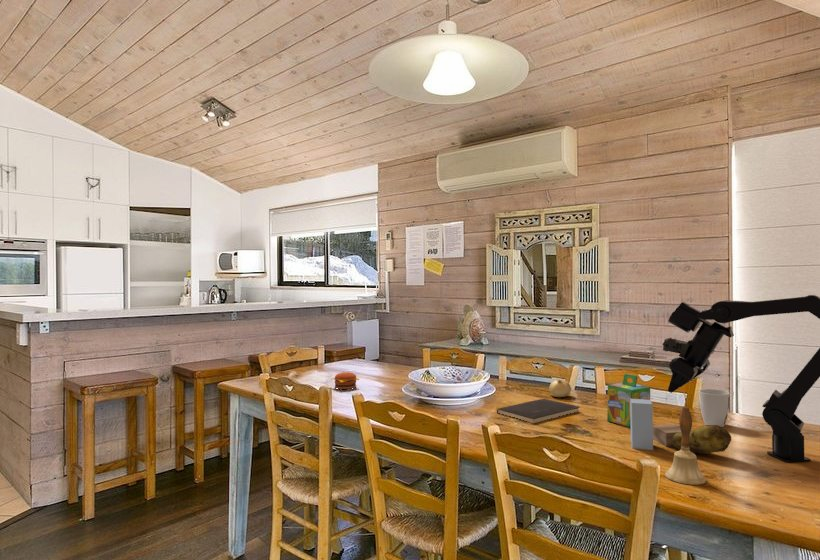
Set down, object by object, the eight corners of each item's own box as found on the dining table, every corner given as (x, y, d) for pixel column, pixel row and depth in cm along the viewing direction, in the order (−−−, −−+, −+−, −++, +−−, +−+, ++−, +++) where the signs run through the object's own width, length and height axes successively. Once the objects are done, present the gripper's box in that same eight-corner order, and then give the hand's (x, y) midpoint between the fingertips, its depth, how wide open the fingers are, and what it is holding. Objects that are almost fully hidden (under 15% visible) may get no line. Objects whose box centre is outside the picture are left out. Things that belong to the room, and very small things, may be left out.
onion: (545, 395, 202) (545, 376, 202) (565, 393, 203) (564, 375, 203) (555, 399, 194) (554, 380, 194) (575, 398, 195) (574, 379, 195)
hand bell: (692, 470, 122) (691, 402, 122) (715, 484, 114) (713, 411, 114) (657, 471, 122) (656, 403, 122) (677, 485, 113) (676, 412, 113)
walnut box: (691, 446, 139) (691, 431, 139) (666, 447, 139) (666, 432, 139) (676, 438, 146) (675, 424, 146) (652, 439, 146) (651, 425, 146)
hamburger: (342, 391, 214) (341, 375, 214) (330, 388, 221) (329, 372, 221) (361, 388, 220) (361, 372, 220) (349, 384, 227) (348, 369, 227)
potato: (689, 444, 140) (688, 415, 140) (737, 459, 129) (736, 427, 129) (668, 449, 137) (667, 419, 137) (715, 465, 125) (715, 431, 125)
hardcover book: (579, 413, 176) (579, 406, 176) (533, 425, 163) (533, 418, 163) (542, 404, 189) (542, 398, 189) (496, 414, 176) (496, 408, 176)
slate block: (650, 444, 141) (650, 399, 141) (653, 450, 137) (652, 404, 137) (630, 442, 143) (630, 398, 143) (632, 448, 138) (631, 403, 138)
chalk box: (606, 421, 164) (605, 374, 164) (625, 417, 168) (625, 371, 168) (632, 428, 156) (631, 379, 156) (651, 424, 160) (651, 375, 160)
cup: (734, 429, 153) (734, 395, 153) (704, 428, 155) (704, 394, 155) (724, 421, 161) (723, 389, 161) (695, 420, 163) (694, 388, 163)
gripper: (684, 323, 153) (657, 367, 158) (666, 329, 139) (636, 377, 144) (723, 344, 146) (693, 390, 151) (707, 352, 132) (675, 402, 137)
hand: (674, 388), depth 146 cm, fingers open, 9 cm apart
